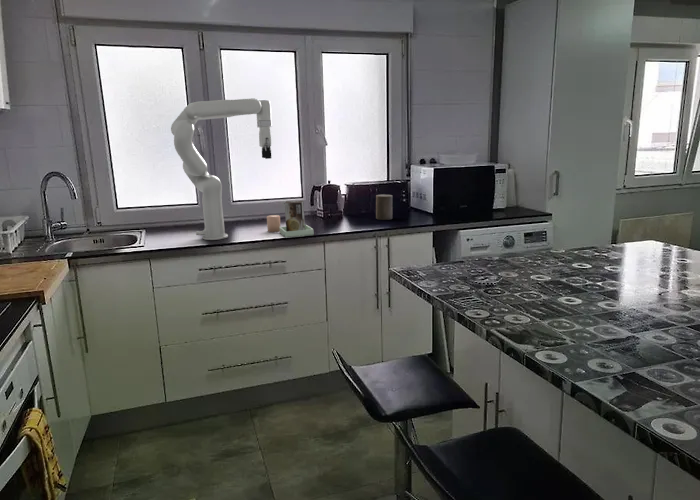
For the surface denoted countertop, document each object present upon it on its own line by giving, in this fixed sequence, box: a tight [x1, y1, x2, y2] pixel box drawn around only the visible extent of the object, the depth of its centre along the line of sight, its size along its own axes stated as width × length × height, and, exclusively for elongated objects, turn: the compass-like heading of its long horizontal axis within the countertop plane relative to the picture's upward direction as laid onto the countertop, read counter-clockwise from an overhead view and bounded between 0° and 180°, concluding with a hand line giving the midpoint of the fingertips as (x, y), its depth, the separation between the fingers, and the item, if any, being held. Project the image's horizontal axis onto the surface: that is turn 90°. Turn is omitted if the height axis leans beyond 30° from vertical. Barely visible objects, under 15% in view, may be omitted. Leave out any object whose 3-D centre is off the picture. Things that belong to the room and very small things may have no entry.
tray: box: [279, 224, 315, 239], centre depth 263 cm, size 15×15×3 cm
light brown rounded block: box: [266, 214, 282, 233], centre depth 272 cm, size 7×7×8 cm
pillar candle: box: [375, 194, 393, 221], centre depth 299 cm, size 10×10×15 cm
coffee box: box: [284, 200, 306, 232], centre depth 261 cm, size 9×6×16 cm
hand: (266, 158), depth 267 cm, fingers open, 9 cm apart
